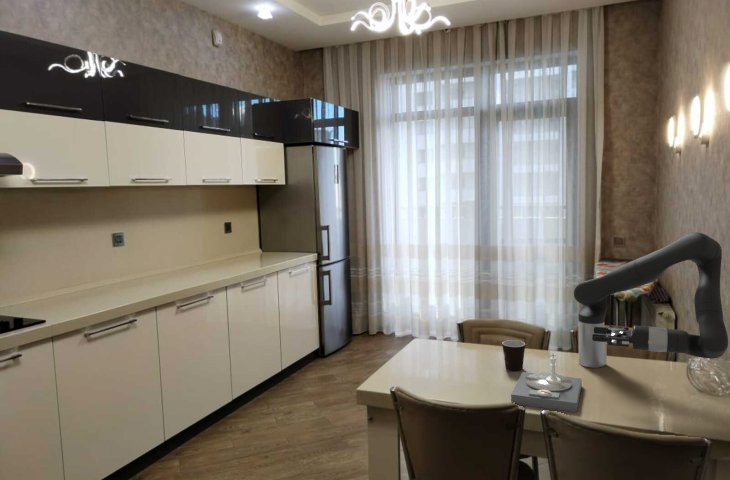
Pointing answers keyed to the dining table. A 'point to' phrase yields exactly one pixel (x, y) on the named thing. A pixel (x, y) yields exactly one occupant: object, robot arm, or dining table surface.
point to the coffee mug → (513, 354)
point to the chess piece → (553, 372)
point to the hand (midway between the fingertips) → (593, 333)
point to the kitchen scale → (547, 392)
